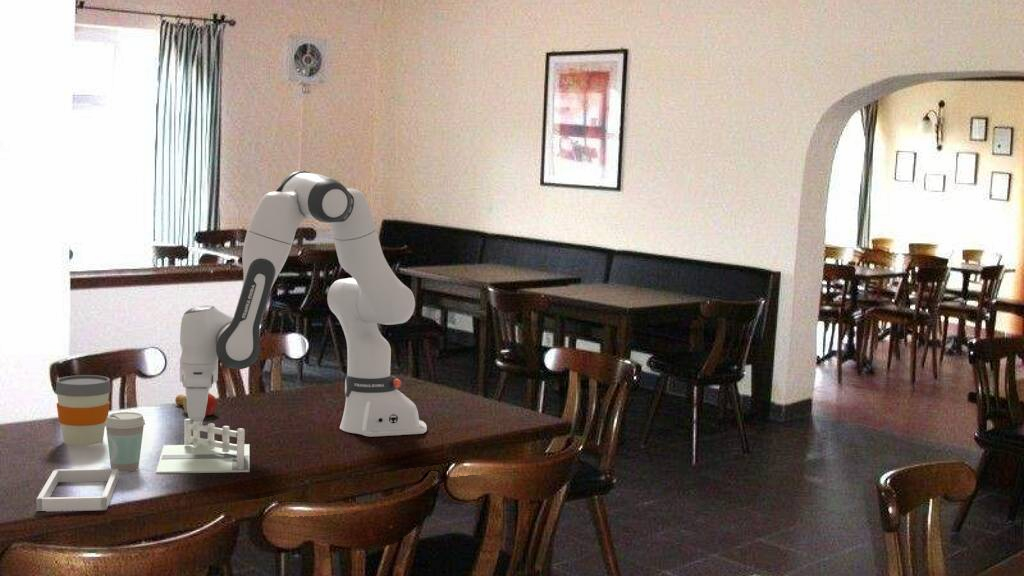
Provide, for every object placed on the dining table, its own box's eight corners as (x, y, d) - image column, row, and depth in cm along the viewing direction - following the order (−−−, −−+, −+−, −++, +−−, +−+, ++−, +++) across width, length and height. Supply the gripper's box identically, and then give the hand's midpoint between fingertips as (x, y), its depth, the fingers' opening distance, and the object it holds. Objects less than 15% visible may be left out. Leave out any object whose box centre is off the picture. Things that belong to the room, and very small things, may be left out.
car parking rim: (118, 479, 261) (118, 468, 261) (106, 510, 240) (106, 497, 239) (54, 480, 258) (54, 469, 258) (36, 511, 237) (36, 499, 237)
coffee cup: (109, 463, 274) (109, 411, 272) (148, 464, 275) (148, 411, 273) (100, 473, 265) (100, 419, 264) (140, 474, 266) (140, 420, 265)
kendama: (164, 411, 333) (196, 415, 320) (167, 388, 334) (198, 390, 321) (190, 413, 338) (222, 417, 325) (193, 391, 339) (225, 393, 326)
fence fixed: (237, 457, 282) (237, 430, 281) (244, 457, 282) (244, 430, 281) (236, 469, 271) (236, 441, 270) (243, 469, 271) (244, 441, 270)
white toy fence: (246, 454, 283) (246, 429, 283) (241, 455, 282) (241, 430, 281) (187, 443, 292) (187, 418, 291) (182, 444, 290) (182, 419, 289)
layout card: (249, 445, 295) (249, 443, 295) (249, 471, 271) (249, 469, 271) (163, 446, 290) (163, 444, 290) (156, 473, 267) (156, 471, 267)
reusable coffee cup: (121, 438, 296) (121, 378, 295) (87, 450, 285) (88, 386, 283) (78, 433, 301) (78, 373, 299) (43, 443, 289) (43, 381, 287)
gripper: (187, 365, 301) (186, 420, 302) (182, 381, 281) (182, 440, 282) (213, 365, 302) (213, 420, 303) (210, 381, 282) (210, 440, 284)
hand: (198, 430), depth 293 cm, fingers closed
